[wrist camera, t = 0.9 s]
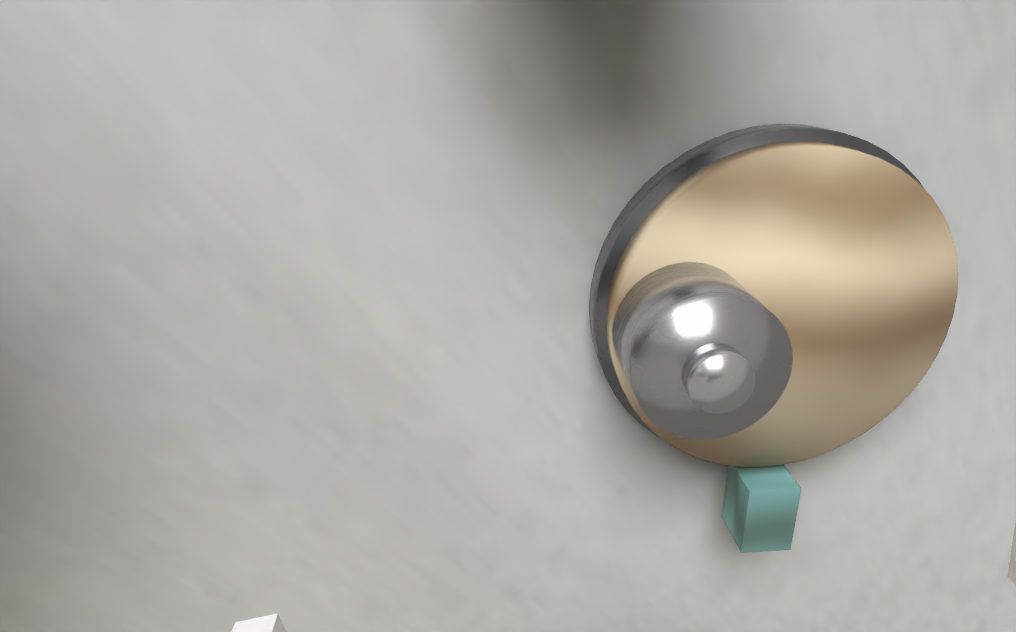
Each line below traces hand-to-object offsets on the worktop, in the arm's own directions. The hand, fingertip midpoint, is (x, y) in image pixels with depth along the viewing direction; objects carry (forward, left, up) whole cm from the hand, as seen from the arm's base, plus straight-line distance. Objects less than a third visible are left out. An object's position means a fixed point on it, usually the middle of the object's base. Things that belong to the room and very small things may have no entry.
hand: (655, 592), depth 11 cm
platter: (+10, -4, -18) cm, 21 cm away
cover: (+6, -3, -17) cm, 18 cm away
